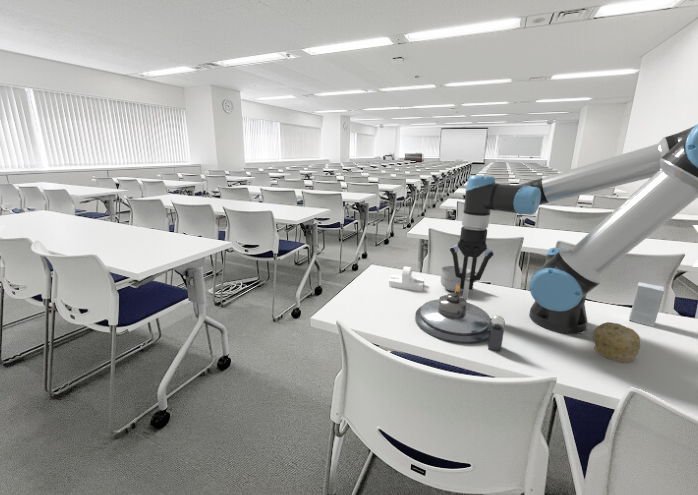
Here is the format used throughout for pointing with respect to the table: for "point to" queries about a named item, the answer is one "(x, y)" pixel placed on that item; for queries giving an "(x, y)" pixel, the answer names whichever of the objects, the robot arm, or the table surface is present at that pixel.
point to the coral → (616, 342)
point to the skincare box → (646, 304)
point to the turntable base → (450, 337)
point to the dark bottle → (496, 333)
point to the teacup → (452, 277)
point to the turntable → (467, 326)
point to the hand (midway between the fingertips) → (464, 298)
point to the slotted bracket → (406, 280)
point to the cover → (452, 306)
